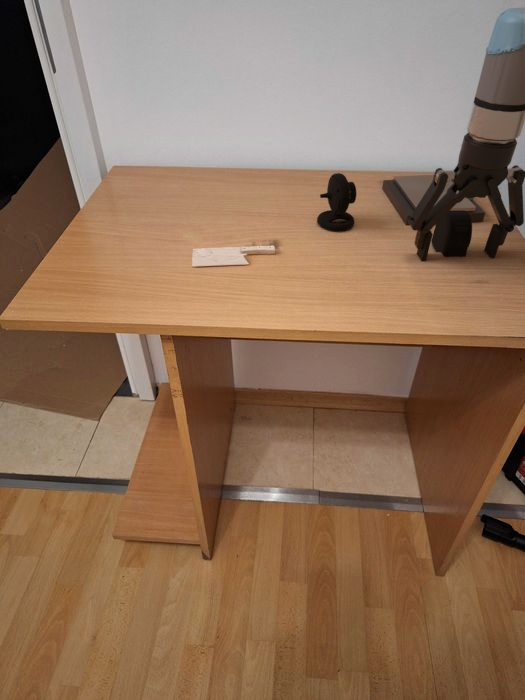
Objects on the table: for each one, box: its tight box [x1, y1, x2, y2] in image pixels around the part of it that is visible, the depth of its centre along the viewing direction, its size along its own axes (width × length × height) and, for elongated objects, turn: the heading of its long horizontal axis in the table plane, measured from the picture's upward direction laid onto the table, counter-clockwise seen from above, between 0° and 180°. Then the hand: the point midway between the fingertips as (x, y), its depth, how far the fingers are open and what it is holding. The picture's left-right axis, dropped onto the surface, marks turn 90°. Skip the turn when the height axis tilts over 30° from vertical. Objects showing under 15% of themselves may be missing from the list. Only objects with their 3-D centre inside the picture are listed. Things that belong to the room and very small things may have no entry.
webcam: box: [316, 172, 357, 232], centre depth 95 cm, size 8×8×10 cm
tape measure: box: [431, 210, 473, 258], centre depth 84 cm, size 15×4×8 cm, turn 1°
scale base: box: [381, 179, 486, 226], centre depth 104 cm, size 16×18×3 cm
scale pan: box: [392, 174, 476, 211], centre depth 103 cm, size 12×17×1 cm
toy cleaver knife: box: [191, 245, 276, 268], centre depth 87 cm, size 5×15×1 cm, turn 94°
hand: (453, 262), depth 86 cm, fingers open, 12 cm apart
